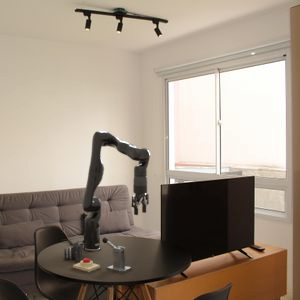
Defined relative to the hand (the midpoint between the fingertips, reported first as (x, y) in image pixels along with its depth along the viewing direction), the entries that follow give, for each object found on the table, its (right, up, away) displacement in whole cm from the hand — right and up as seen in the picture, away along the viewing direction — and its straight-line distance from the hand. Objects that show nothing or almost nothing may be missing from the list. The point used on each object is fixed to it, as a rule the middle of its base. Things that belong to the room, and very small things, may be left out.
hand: (140, 213), depth 212 cm
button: (-30, -24, -8) cm, 39 cm away
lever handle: (-17, -17, -6) cm, 25 cm away
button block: (-30, -28, -8) cm, 42 cm away
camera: (-37, -28, +10) cm, 47 cm away
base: (-12, -28, -9) cm, 32 cm away
